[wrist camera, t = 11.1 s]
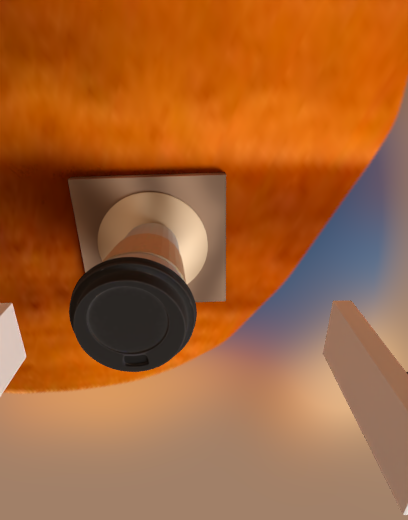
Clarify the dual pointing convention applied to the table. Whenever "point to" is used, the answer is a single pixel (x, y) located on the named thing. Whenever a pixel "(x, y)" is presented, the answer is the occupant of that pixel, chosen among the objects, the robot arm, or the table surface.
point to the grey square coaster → (158, 220)
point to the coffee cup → (135, 303)
